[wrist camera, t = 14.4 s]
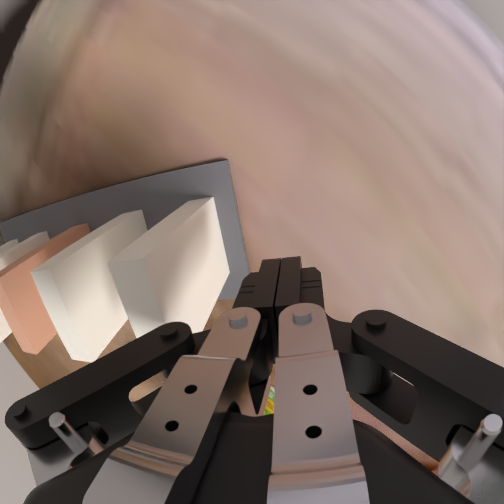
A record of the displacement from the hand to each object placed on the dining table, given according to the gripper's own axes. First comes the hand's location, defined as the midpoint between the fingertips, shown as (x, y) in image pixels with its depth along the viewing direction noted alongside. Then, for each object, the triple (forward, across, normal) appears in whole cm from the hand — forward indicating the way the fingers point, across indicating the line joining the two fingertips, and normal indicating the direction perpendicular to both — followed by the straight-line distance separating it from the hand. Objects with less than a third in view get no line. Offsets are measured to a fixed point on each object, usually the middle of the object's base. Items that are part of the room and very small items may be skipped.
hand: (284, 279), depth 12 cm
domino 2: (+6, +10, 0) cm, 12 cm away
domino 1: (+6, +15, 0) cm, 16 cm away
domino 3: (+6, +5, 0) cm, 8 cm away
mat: (+7, +15, 0) cm, 16 cm away
